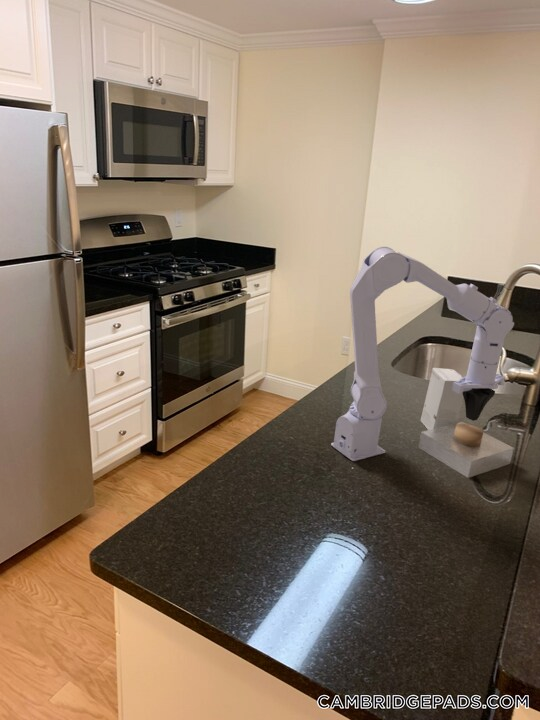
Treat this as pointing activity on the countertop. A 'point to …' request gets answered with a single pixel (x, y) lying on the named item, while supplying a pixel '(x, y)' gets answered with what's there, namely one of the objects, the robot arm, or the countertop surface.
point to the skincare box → (442, 399)
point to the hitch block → (465, 451)
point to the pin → (468, 435)
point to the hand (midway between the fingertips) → (471, 418)
